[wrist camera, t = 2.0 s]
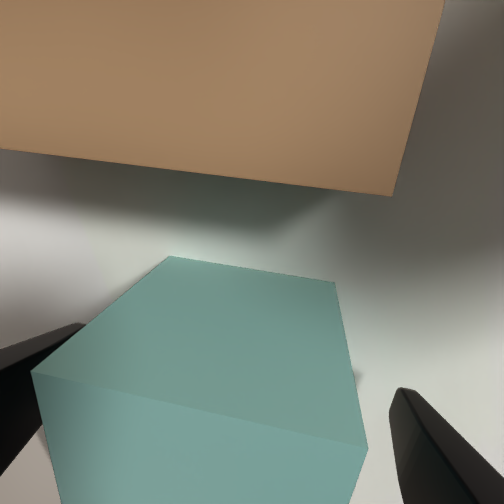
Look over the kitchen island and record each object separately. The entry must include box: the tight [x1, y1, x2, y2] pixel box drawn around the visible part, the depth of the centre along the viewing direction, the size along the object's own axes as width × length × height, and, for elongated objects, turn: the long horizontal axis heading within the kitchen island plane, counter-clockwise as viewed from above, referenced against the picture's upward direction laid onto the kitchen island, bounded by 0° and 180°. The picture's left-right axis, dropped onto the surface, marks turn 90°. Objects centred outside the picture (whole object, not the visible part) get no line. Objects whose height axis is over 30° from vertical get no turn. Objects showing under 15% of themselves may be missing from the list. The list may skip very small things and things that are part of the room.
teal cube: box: [31, 256, 368, 504], centre depth 7 cm, size 5×5×5 cm
